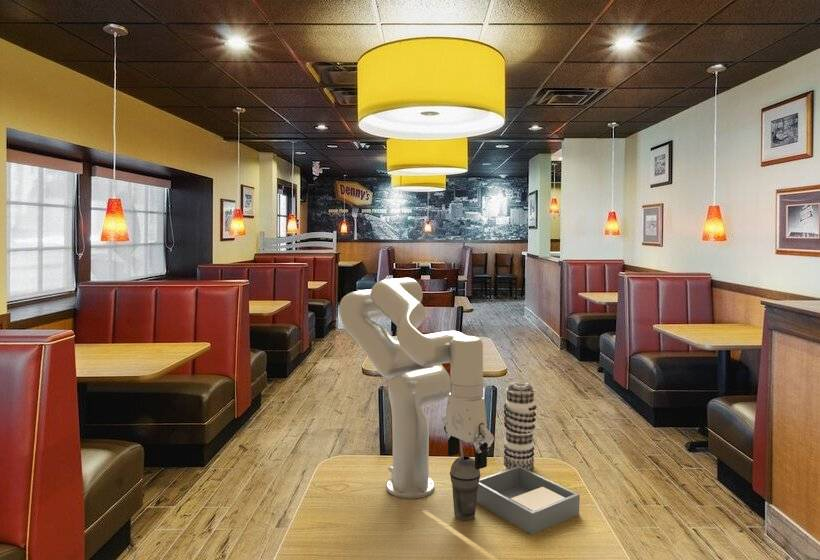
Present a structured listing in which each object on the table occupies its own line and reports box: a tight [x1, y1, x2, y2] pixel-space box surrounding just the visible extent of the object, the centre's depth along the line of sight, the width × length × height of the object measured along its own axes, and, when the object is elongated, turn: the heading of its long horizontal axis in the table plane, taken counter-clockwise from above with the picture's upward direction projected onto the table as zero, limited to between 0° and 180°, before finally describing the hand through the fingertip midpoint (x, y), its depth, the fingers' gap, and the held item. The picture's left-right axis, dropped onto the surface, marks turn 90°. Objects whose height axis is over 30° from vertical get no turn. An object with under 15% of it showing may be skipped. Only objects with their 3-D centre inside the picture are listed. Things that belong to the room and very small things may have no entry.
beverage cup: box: [449, 439, 481, 522], centre depth 142 cm, size 7×7×20 cm
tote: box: [476, 466, 581, 536], centre depth 147 cm, size 20×16×6 cm
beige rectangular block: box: [511, 487, 565, 511], centre depth 144 cm, size 8×11×4 cm
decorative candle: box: [503, 381, 538, 471], centre depth 170 cm, size 9×9×25 cm
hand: (466, 461), depth 141 cm, fingers open, 9 cm apart
